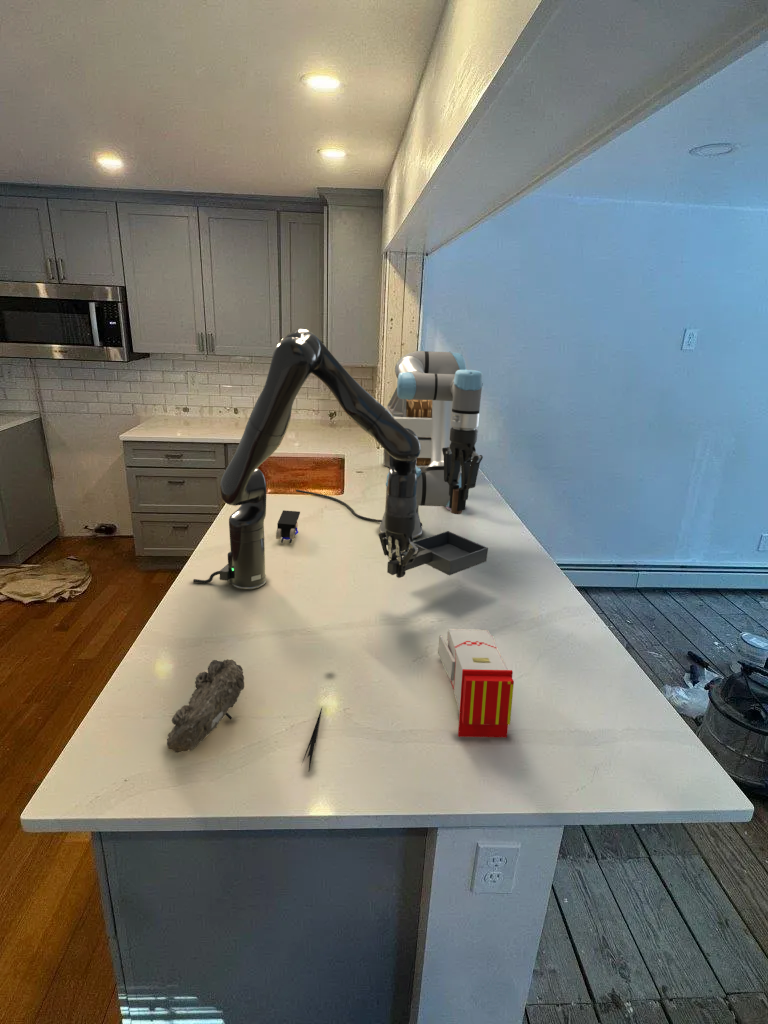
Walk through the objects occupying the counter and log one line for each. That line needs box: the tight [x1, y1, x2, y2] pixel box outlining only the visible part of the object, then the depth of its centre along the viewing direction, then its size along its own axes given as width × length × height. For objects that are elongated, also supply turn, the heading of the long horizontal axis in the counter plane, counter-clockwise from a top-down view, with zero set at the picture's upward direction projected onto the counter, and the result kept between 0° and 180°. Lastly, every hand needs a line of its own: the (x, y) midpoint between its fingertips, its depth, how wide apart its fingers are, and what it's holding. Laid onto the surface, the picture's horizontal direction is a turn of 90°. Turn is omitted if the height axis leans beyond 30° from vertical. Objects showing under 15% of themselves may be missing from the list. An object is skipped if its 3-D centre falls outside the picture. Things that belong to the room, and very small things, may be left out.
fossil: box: [166, 658, 245, 754], centre depth 106 cm, size 22×10×15 cm
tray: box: [386, 530, 489, 576], centre depth 151 cm, size 29×15×4 cm, turn 131°
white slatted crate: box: [383, 387, 461, 471], centre depth 268 cm, size 34×33×41 cm
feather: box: [301, 673, 332, 771], centre depth 108 cm, size 2×28×2 cm
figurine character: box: [275, 509, 301, 544], centre depth 191 cm, size 7×8×15 cm
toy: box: [437, 628, 515, 738], centre depth 117 cm, size 12×13×30 cm
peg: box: [450, 488, 463, 515], centre depth 163 cm, size 3×3×7 cm
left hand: (397, 574), depth 144 cm, fingers closed on tray, 2 cm apart
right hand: (457, 508), depth 164 cm, fingers closed on peg, 2 cm apart
